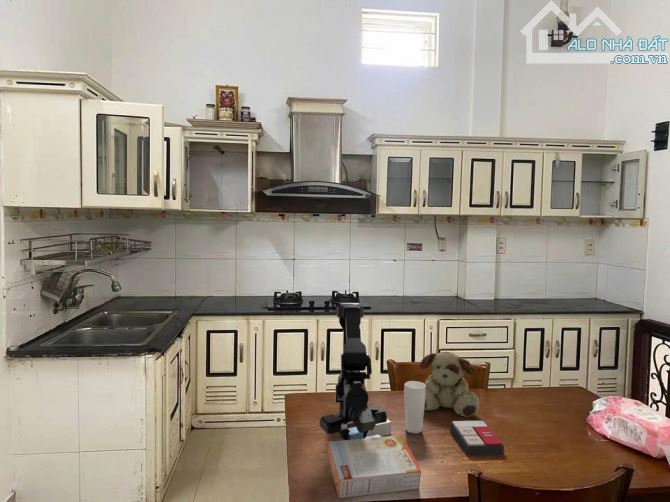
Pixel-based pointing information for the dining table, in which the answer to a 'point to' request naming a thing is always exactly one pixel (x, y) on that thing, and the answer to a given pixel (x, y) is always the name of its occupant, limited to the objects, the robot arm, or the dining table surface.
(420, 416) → the drinking glass
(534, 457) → the dining table surface
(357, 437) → the plug
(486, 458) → the dining table surface
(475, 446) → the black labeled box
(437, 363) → the dog
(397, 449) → the cracker box
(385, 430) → the plug
